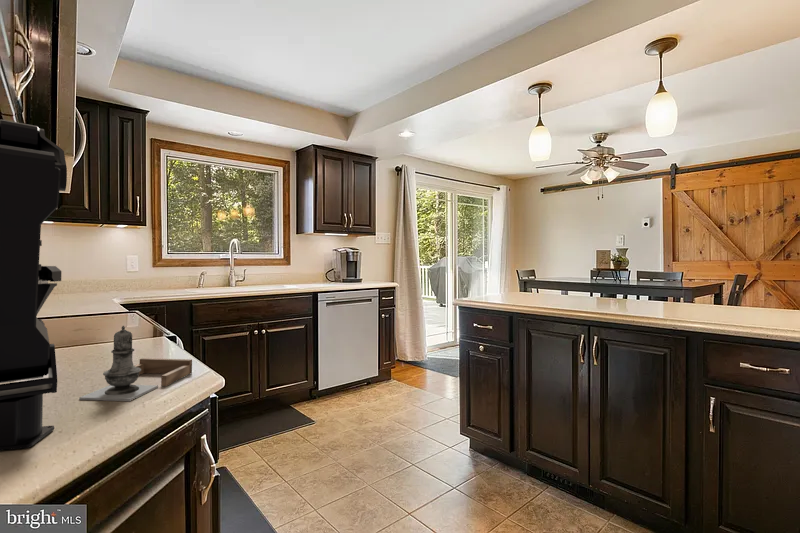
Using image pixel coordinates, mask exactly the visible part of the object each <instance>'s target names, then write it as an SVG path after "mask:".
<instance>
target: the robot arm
mask: <svg viewBox="0 0 800 533" xmlns="http://www.w3.org/2000/svg"><path fill="white" fill-rule="evenodd" d="M45 134H46V132H45V129H44V128H39V126H38V125H33V124H28V123H23V122H18V121H17V122H16V121H12V120H7V119H6V120H5V119H2V118H1V119H0V451H3V450H2V449H9V450H17V449H18V450H19V449H27V448H31V447H33V446H34V445H36V443H38V442H39V441H40V440H42V439H43V438H44V437H46V436H47V435H49V434H50V433H51V432H53V431H54V430H55V425H43V420H44V419H43V415H44V414H43V413H44V412H43V408H44V405H43V404H44V403H43V402H44V395H45V394H55V393H57V392H58V370H57V357H56V349H55V348H56V347H55V343H50V337H49V332H48V328H47V327H46V326H45V323H44V320H42V319H41V318H39V319H38V318H37V316H38V314H39V312H40V310H41V309H42V307H43V306H44V304H45V302H46V301H47V299H48V298H49V296H50V294H51V293H52V292H53V290H54V289H55V287H57V286H58V282H61V281H62V270H61V269H60V268H59V267H58V266H57V265H42V264H41V263H40V255H41V253H40V251H41V250H40V249H41V247H42V244H43V243H42V239H41V233H42V232H41V230H42V224H43V223H44V222H45V221H46V220H48V218H49V217H50V216H51V215H52V214H53V213H54V212H55V211H56V210H57V209H58V208H59V202H60V200H59V199H60V192H66V190H67V184H68V183H67V182H68V181H67V180H68V177H67V176H68V170H67V162H66V161H67V160H66V156H65V151H64V149H62V148H61V147H60V146H59V145H57V144H56V143H54V142H53V141H51V140H50V139H49V138H47V137H46V135H45ZM51 282H52V283H51ZM55 282H56V283H55ZM47 375H48V377H45V378H44V376H47Z"/></svg>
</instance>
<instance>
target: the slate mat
mask: <svg viewBox="0 0 800 533" xmlns="http://www.w3.org/2000/svg"><path fill="white" fill-rule="evenodd" d="M135 385H136V386H138V387H139V390H137V391H135V392H132V393H128V394H122V395H107V394H105V391H106V390H108V389H109V388H111V387H114V386H111V385H109V384H108V385H107V386H104V387H102V388H99V389H96V390H94V391H92V392H90V393H87V394H85V395H81V396H80V397H78V398H79V399H78V400H80V401H81V400H82V401H109V402H111V401H112V402H131V400H132V401H133V399H134V400H136V399H137V398H140V397H142V396H144V395H146V394H148V393H150V392H152V391H154V390H156V389H158V388H159V385H156V384H135ZM135 398H136V399H135Z"/></svg>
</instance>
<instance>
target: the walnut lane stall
mask: <svg viewBox="0 0 800 533" xmlns="http://www.w3.org/2000/svg"><path fill="white" fill-rule="evenodd" d="M134 366H135V367H138V368H141V371H140V372H139V376H140V375H142V374H162V375H161V376H160V378H161V380H160V382H161V384H160V385H161V386H162V387H168V386H169V385H171V384H173V383H175V382H177V381H179V380H181V379H183V378H184V376H185V377H187V376H189V375H191V374H192V373H193V372H192V371H193V359H191V358H187V359H185V358H156V357H155V358H152V357H151V358H150V357H142V358H139V363H138V364H136V365H134ZM190 373H191V374H190ZM188 374H189V375H188ZM186 375H187V376H186ZM182 377H183V378H182ZM180 378H181V379H180ZM178 379H179V380H178ZM176 380H177V381H176ZM174 381H175V382H174Z"/></svg>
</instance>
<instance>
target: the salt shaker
mask: <svg viewBox="0 0 800 533" xmlns="http://www.w3.org/2000/svg"><path fill="white" fill-rule="evenodd" d="M134 351H135V348H133V333H132V332H131V331H129V330H127V329H126V327H125V325H122V326H121V329H120V330H119V331H116V332H115V334H114V335H113V349H112V350H111V351H110V353H111V354H112V365H111V368H110V369H108V370H106V371H103V373H102V375H103V376H104V379H105V381H106V383H107V384H108V386H109V385H111V386H114V387H111V388H109V389H108V390H106V391H105V394H107V395H122V394H128V393H132V392H135V391H137V390H139V387H138V386H136V385H137V384H134V383H135V382H136V381H137V380H138V378H139V376H140V375H139V372H140V371H141V368H138V367H135V365H134V362H133V352H134Z"/></svg>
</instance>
